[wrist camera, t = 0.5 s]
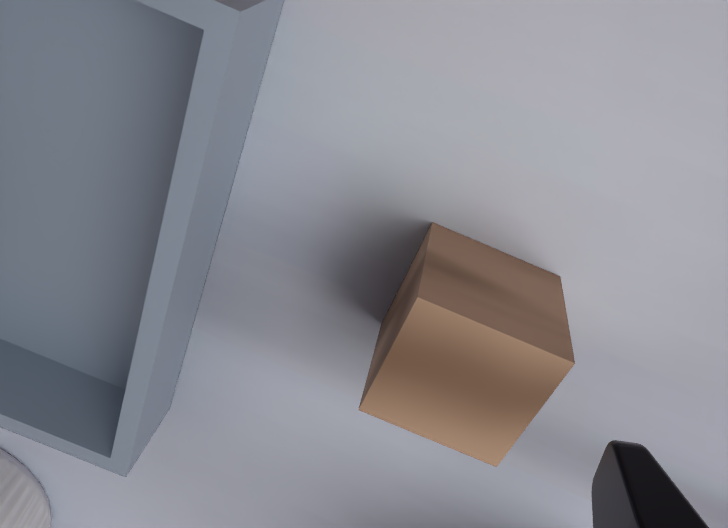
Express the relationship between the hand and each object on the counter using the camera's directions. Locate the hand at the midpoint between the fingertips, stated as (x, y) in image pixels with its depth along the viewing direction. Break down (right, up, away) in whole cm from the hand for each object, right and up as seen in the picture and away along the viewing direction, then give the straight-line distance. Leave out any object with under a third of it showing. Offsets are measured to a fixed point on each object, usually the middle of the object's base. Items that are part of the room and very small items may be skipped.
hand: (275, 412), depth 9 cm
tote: (-10, +5, +15) cm, 19 cm away
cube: (+5, +1, +15) cm, 16 cm away
